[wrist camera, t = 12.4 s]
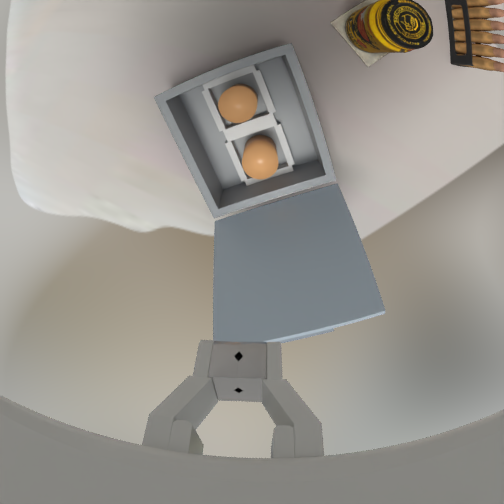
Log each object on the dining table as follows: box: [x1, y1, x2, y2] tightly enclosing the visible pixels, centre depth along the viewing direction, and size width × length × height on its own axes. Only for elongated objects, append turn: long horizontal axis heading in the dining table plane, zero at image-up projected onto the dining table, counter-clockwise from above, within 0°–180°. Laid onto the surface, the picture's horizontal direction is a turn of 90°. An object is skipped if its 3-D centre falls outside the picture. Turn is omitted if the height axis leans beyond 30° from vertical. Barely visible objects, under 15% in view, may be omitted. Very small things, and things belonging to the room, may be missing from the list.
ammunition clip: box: [445, 0, 504, 72], centre depth 18 cm, size 11×2×12 cm, turn 7°
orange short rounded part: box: [242, 135, 278, 179], centre depth 33 cm, size 4×4×5 cm
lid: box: [213, 184, 385, 343], centre depth 29 cm, size 16×15×2 cm
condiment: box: [331, 0, 433, 67], centre depth 21 cm, size 7×8×12 cm
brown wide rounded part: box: [218, 84, 258, 123], centre depth 29 cm, size 4×4×5 cm
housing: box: [154, 43, 336, 218], centre depth 32 cm, size 16×15×6 cm
